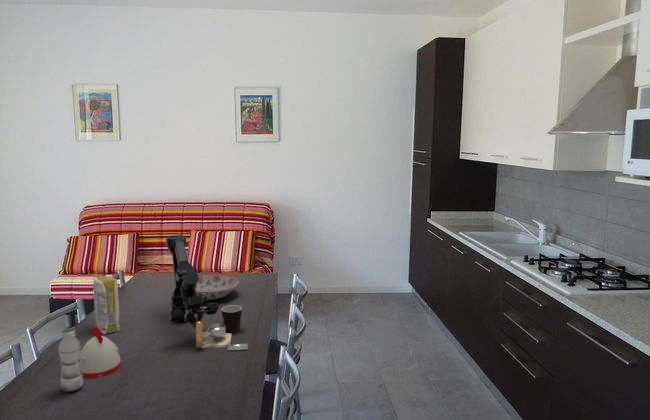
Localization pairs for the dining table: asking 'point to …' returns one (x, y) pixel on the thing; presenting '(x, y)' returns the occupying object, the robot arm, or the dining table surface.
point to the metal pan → (208, 332)
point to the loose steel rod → (237, 347)
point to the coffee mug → (232, 318)
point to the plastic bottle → (70, 361)
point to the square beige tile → (217, 341)
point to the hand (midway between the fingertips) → (198, 331)
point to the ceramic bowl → (216, 285)
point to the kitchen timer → (99, 356)
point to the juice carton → (106, 304)
